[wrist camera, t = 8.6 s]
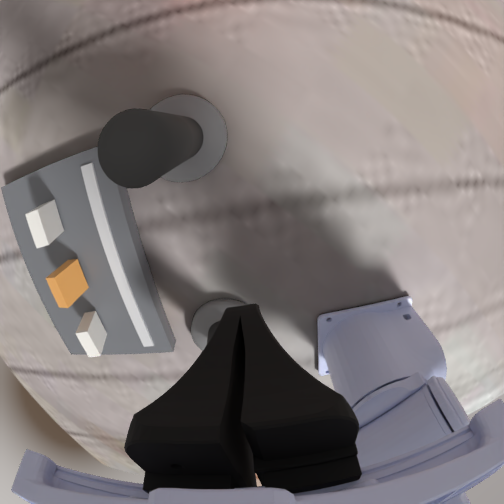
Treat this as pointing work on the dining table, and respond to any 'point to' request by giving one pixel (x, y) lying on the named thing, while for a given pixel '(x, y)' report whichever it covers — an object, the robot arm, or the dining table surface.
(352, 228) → the dining table surface
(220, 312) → the rubber post
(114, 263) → the breaker panel
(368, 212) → the dining table surface
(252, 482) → the robot arm
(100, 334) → the block
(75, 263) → the block
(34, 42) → the dining table surface
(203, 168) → the rubber post
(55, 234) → the block
